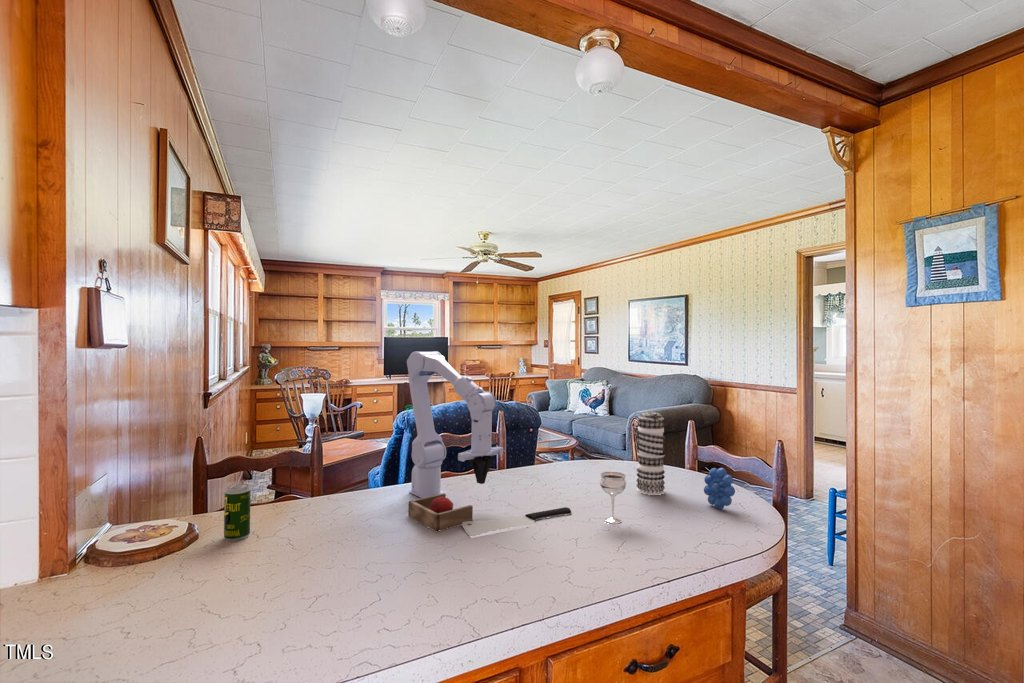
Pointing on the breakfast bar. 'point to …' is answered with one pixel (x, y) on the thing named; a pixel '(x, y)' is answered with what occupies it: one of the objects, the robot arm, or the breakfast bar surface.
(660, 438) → the striped tall cylinder
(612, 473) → the wineglass
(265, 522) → the breakfast bar surface
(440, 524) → the box
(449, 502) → the onion
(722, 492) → the grapes
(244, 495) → the green fruit can
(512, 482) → the breakfast bar surface
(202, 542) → the breakfast bar surface
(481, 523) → the kitchen cleaver
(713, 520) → the breakfast bar surface
